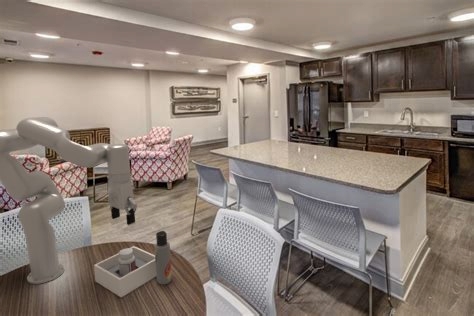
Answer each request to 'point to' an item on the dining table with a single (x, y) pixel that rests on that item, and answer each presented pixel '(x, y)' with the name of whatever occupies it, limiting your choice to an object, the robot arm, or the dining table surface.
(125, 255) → the pill bottle
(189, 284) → the dining table surface
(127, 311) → the dining table surface
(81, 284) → the dining table surface
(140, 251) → the box
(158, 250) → the lotion bottle
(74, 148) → the robot arm
